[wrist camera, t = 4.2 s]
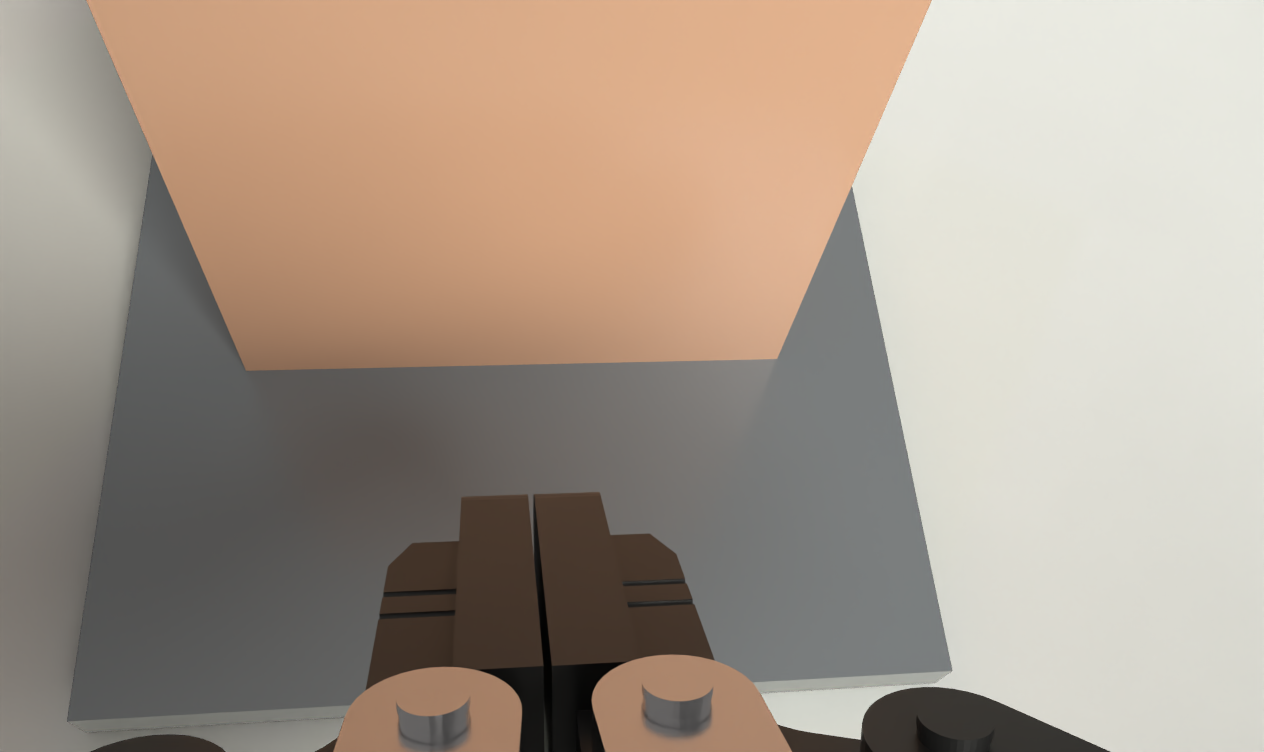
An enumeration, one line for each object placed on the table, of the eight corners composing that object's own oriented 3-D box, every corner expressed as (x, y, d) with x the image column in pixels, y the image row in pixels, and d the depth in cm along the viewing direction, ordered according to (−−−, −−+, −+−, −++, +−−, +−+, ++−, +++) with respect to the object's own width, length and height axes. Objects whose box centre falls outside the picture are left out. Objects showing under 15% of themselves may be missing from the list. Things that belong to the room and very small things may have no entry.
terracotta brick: (776, 358, 20) (990, -136, 11) (245, 370, 19) (13, -168, 10) (756, 225, 21) (932, -311, 12) (259, 229, 20) (63, -356, 11)
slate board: (221, -223, 27) (213, -255, 26) (759, -202, 28) (765, -232, 28) (85, 732, 17) (66, 721, 16) (934, 682, 18) (953, 671, 17)
